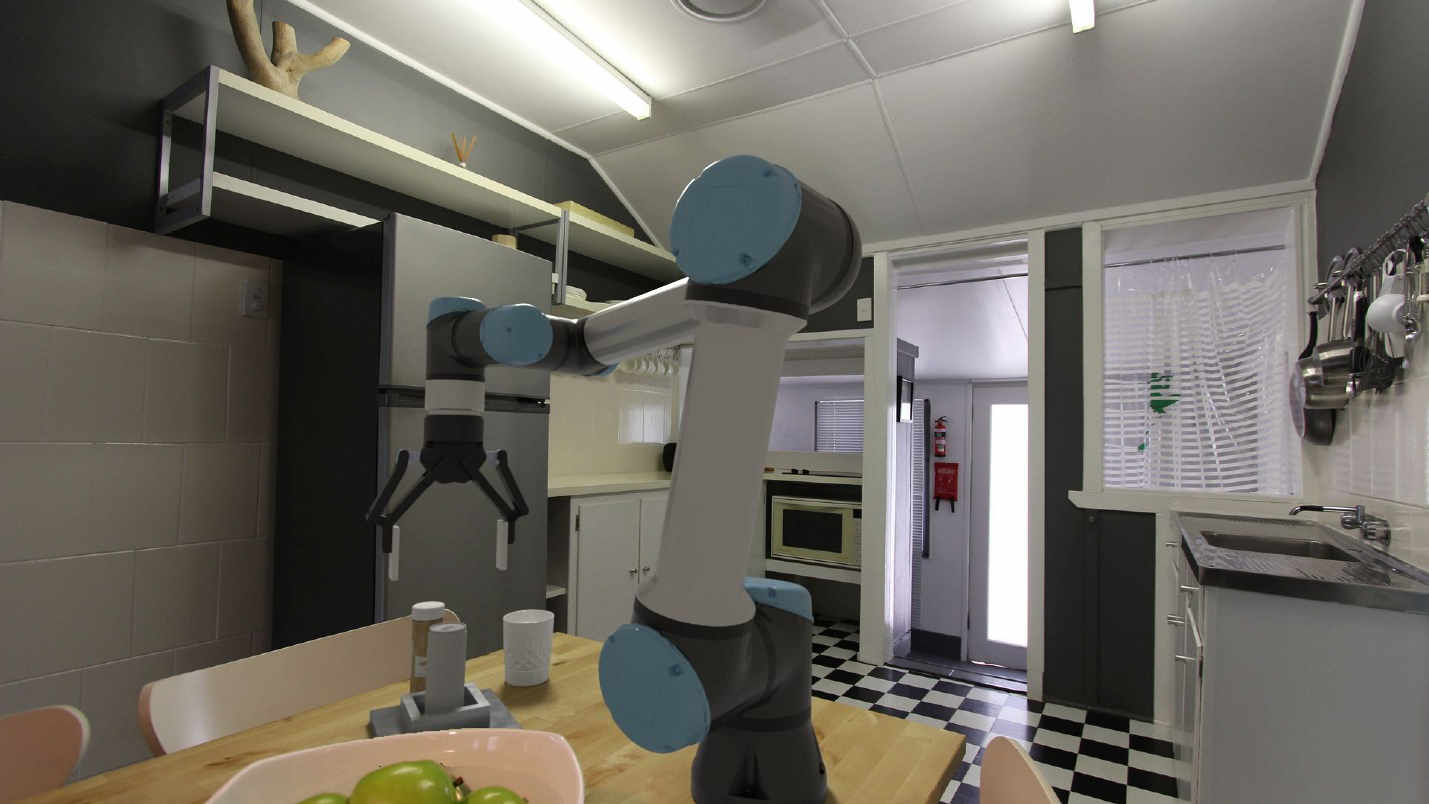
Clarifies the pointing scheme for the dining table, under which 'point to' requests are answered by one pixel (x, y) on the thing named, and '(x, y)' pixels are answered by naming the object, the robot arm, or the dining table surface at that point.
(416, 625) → the sprinkles bottle
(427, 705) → the beverage can
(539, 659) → the white cup
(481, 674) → the dining table surface
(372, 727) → the gray square base
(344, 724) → the dining table surface
